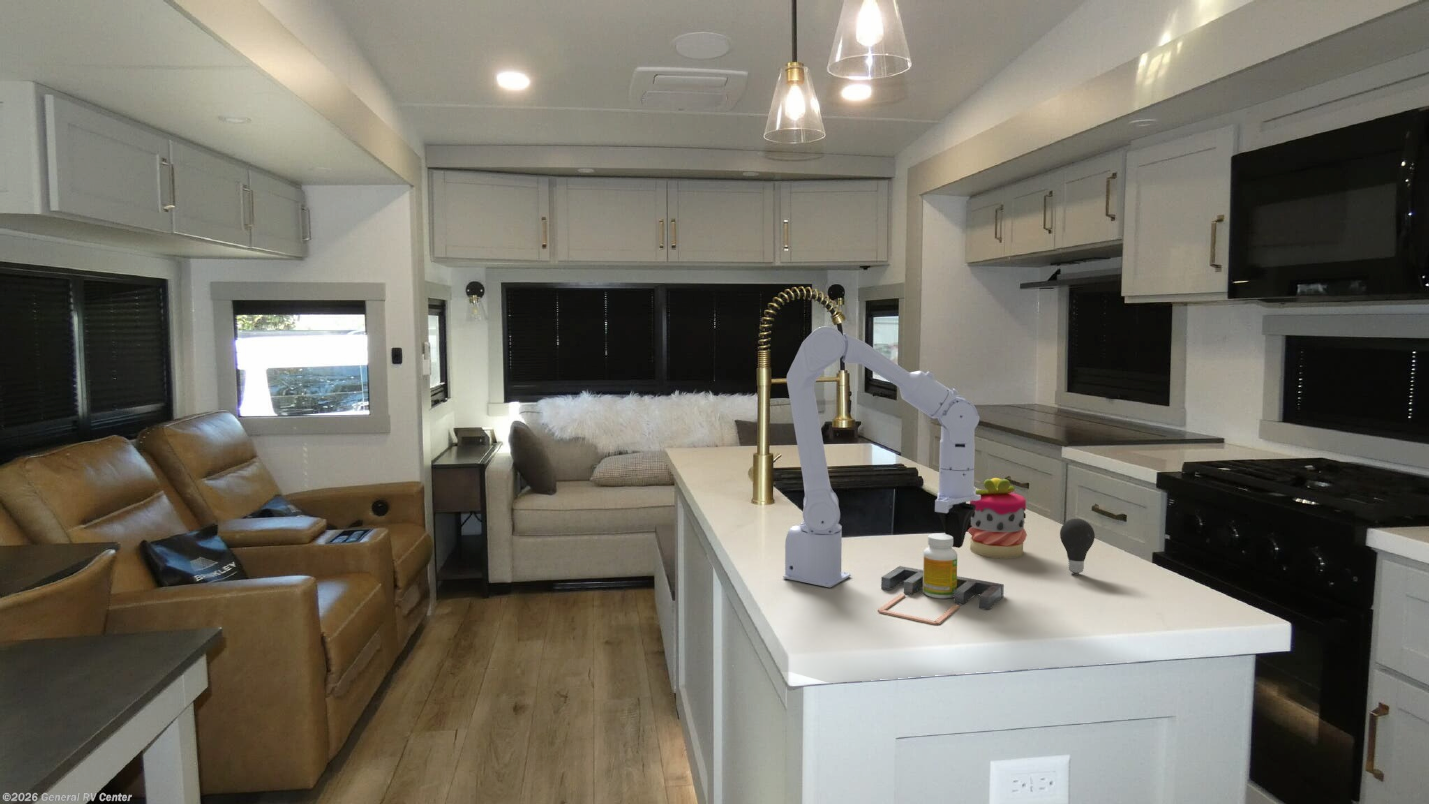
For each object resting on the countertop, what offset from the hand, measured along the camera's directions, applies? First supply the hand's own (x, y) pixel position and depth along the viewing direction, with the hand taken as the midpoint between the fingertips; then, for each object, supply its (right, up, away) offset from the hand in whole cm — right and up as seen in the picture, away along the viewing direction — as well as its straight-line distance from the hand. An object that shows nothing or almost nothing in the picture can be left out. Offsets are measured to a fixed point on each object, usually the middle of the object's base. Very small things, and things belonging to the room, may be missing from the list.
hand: (955, 546), depth 139 cm
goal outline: (-9, -8, -12) cm, 17 cm away
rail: (-4, -7, -5) cm, 9 cm away
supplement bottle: (-4, -7, -5) cm, 10 cm away
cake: (+14, -5, +20) cm, 25 cm away
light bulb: (+23, -6, +5) cm, 24 cm away
